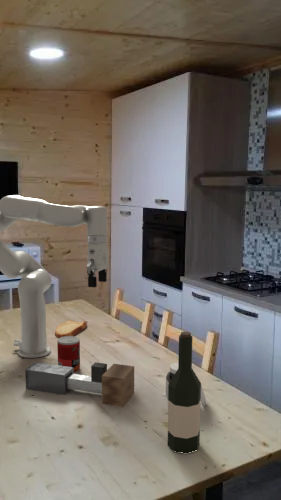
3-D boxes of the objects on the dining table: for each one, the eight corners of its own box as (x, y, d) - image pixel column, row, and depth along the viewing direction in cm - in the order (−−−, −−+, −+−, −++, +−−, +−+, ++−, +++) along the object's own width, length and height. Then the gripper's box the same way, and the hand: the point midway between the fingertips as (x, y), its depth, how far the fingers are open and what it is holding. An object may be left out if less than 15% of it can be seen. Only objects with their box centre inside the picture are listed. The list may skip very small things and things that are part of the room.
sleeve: (25, 388, 153) (25, 369, 152) (36, 380, 159) (35, 362, 158) (64, 394, 149) (64, 375, 148) (73, 386, 155) (73, 367, 154)
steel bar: (54, 386, 151) (53, 361, 150) (59, 382, 155) (58, 357, 153) (113, 396, 145) (113, 369, 144) (117, 390, 148) (117, 364, 147)
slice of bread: (60, 341, 199) (60, 332, 199) (45, 329, 214) (45, 321, 214) (98, 334, 208) (98, 325, 208) (81, 323, 224) (81, 315, 223)
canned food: (76, 374, 165) (75, 343, 163) (54, 372, 166) (53, 342, 165) (83, 365, 172) (82, 336, 171) (62, 363, 174) (61, 335, 172)
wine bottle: (165, 436, 125) (166, 328, 120) (196, 435, 126) (198, 327, 121) (169, 454, 117) (171, 339, 112) (202, 453, 117) (206, 338, 113)
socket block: (102, 403, 143) (101, 375, 142) (113, 389, 152) (113, 363, 151) (123, 407, 141) (123, 378, 140) (134, 393, 150) (134, 366, 149)
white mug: (162, 397, 147) (162, 362, 146) (193, 391, 152) (194, 357, 150) (180, 415, 136) (180, 377, 135) (213, 408, 141) (214, 371, 139)
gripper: (97, 242, 166) (97, 290, 168) (114, 237, 182) (115, 280, 185) (77, 241, 168) (78, 288, 171) (97, 236, 184) (97, 279, 187)
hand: (97, 284), depth 178 cm, fingers open, 9 cm apart
